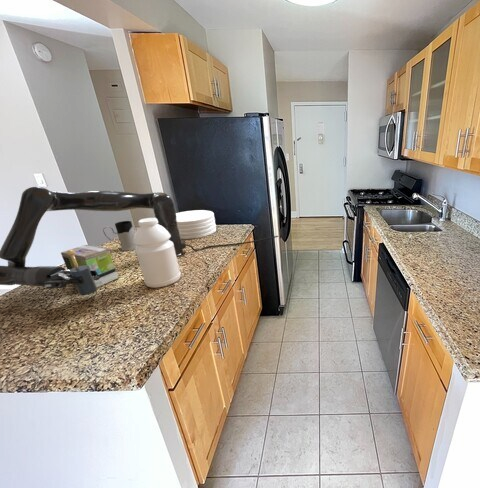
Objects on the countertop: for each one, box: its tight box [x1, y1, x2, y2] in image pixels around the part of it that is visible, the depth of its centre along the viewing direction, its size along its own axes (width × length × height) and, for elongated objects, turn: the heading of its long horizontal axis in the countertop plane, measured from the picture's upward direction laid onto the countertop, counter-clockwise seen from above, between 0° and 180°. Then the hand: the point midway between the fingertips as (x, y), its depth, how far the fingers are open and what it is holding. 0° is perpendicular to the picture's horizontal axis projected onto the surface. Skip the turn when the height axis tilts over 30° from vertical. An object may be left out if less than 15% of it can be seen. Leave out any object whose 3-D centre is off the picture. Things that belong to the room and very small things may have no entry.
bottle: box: [133, 217, 182, 289], centre depth 110 cm, size 14×14×28 cm
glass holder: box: [102, 220, 138, 251], centre depth 146 cm, size 9×14×15 cm, turn 116°
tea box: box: [60, 244, 119, 288], centre depth 112 cm, size 15×10×15 cm, turn 71°
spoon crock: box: [66, 249, 98, 296], centre depth 97 cm, size 5×5×18 cm
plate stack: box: [176, 209, 217, 240], centre depth 174 cm, size 28×28×12 cm
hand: (89, 276), depth 98 cm, fingers closed on spoon crock, 5 cm apart
